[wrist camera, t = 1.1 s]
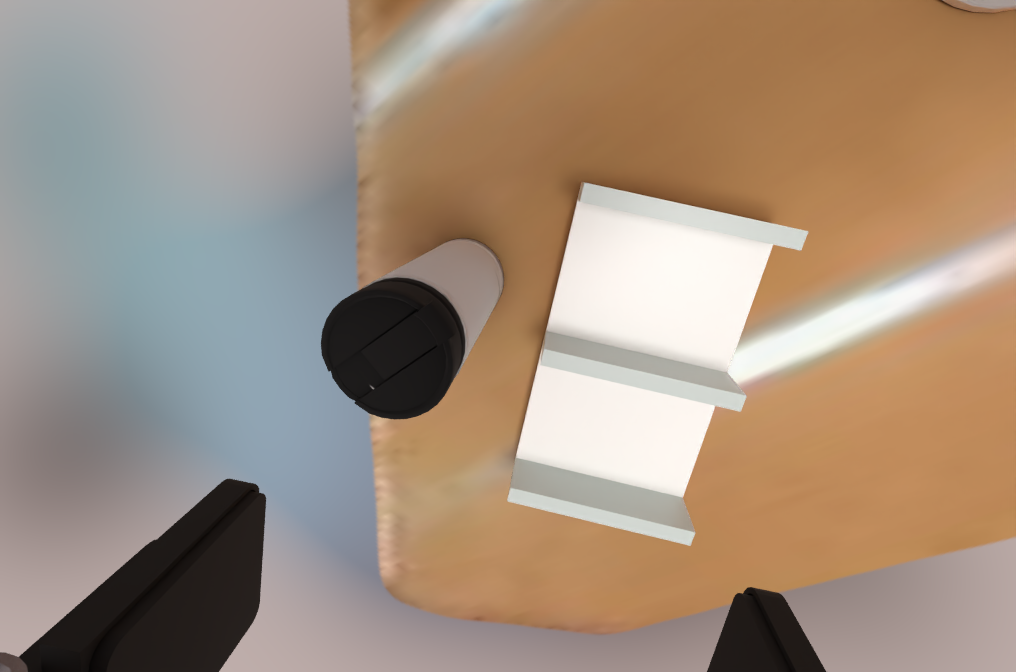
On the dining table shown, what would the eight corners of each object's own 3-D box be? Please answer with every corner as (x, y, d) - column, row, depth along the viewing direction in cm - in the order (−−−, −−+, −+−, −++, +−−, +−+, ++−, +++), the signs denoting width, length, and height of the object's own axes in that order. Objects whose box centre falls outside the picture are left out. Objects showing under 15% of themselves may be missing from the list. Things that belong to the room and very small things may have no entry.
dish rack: (581, 181, 39) (584, 182, 33) (772, 223, 38) (808, 231, 33) (514, 460, 46) (507, 501, 40) (674, 499, 45) (690, 545, 40)
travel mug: (523, 285, 42) (489, 377, 22) (457, 331, 43) (372, 452, 24) (476, 218, 40) (397, 255, 21) (410, 268, 42) (281, 343, 23)
